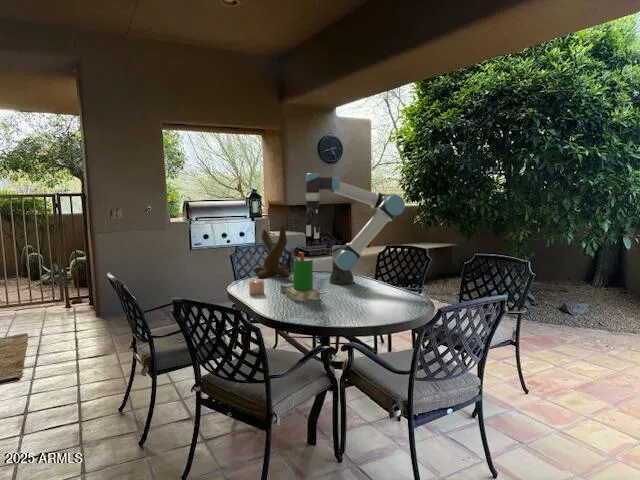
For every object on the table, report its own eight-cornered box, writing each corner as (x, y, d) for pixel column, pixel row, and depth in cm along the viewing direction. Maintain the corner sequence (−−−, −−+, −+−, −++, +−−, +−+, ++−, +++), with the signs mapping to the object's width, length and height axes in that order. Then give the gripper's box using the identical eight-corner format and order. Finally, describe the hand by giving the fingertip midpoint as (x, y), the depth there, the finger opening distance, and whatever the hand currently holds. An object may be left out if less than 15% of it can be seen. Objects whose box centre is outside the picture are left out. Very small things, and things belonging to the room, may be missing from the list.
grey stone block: (289, 289, 250) (289, 283, 249) (296, 291, 247) (296, 284, 247) (280, 292, 243) (280, 285, 243) (287, 293, 240) (287, 286, 240)
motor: (313, 287, 234) (313, 250, 232) (310, 291, 226) (310, 253, 223) (295, 286, 236) (295, 250, 234) (291, 290, 227) (291, 252, 225)
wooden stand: (302, 274, 295) (301, 223, 291) (268, 280, 274) (267, 225, 270) (274, 269, 315) (274, 220, 311) (241, 274, 295) (240, 223, 291)
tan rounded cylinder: (262, 291, 245) (262, 279, 244) (265, 294, 237) (265, 282, 237) (248, 292, 242) (247, 280, 241) (251, 296, 234) (250, 283, 234)
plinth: (310, 293, 240) (310, 285, 240) (319, 299, 227) (319, 290, 227) (286, 295, 235) (286, 287, 235) (294, 301, 222) (294, 292, 222)
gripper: (299, 200, 259) (299, 235, 261) (313, 200, 236) (314, 239, 238) (311, 199, 262) (311, 234, 264) (326, 200, 239) (326, 239, 241)
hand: (312, 237), depth 251 cm, fingers open, 13 cm apart
